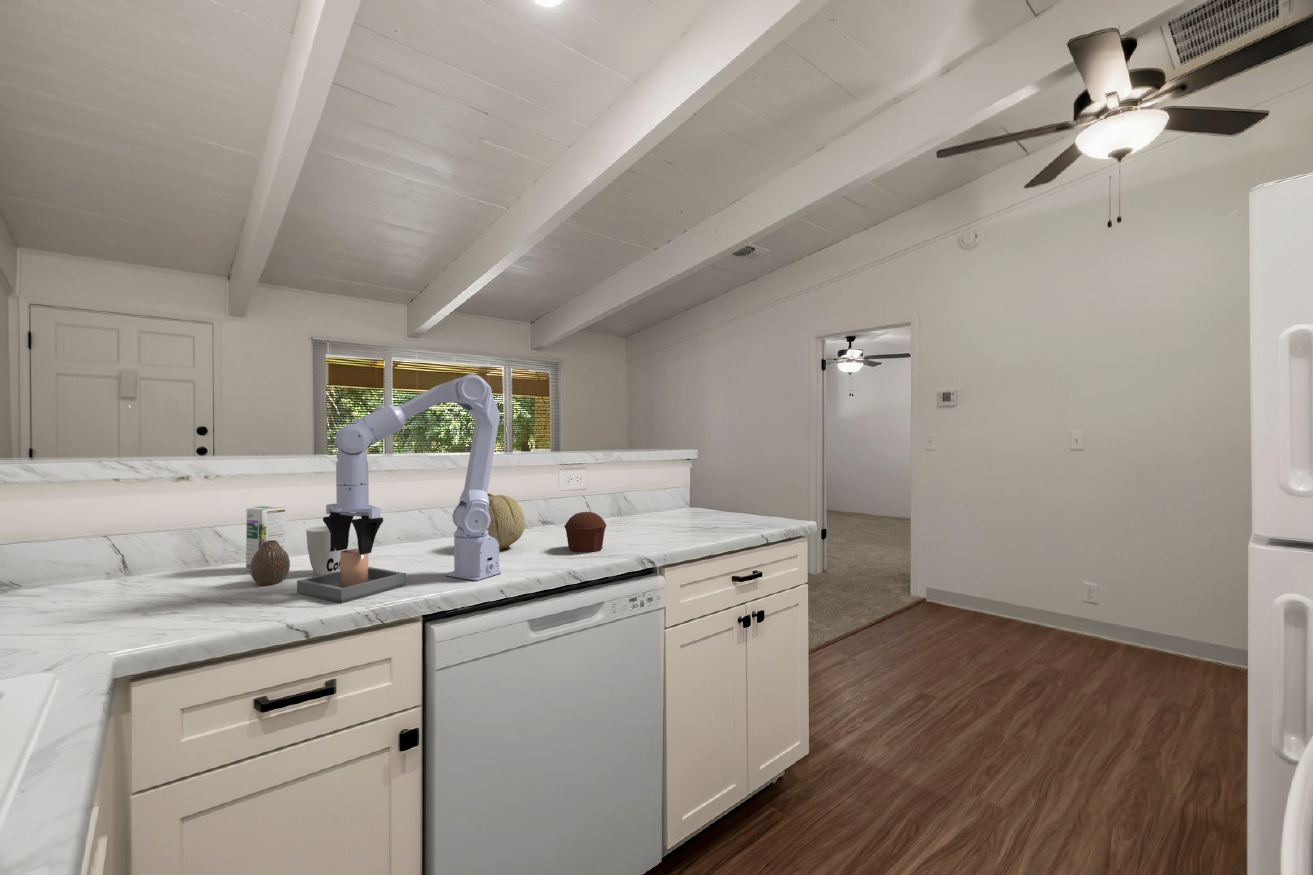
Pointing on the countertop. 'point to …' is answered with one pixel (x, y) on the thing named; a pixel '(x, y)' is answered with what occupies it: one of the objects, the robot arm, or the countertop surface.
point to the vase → (270, 564)
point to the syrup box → (264, 528)
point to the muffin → (585, 532)
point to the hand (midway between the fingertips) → (353, 551)
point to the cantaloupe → (505, 520)
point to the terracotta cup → (353, 568)
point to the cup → (322, 551)
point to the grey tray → (331, 589)
